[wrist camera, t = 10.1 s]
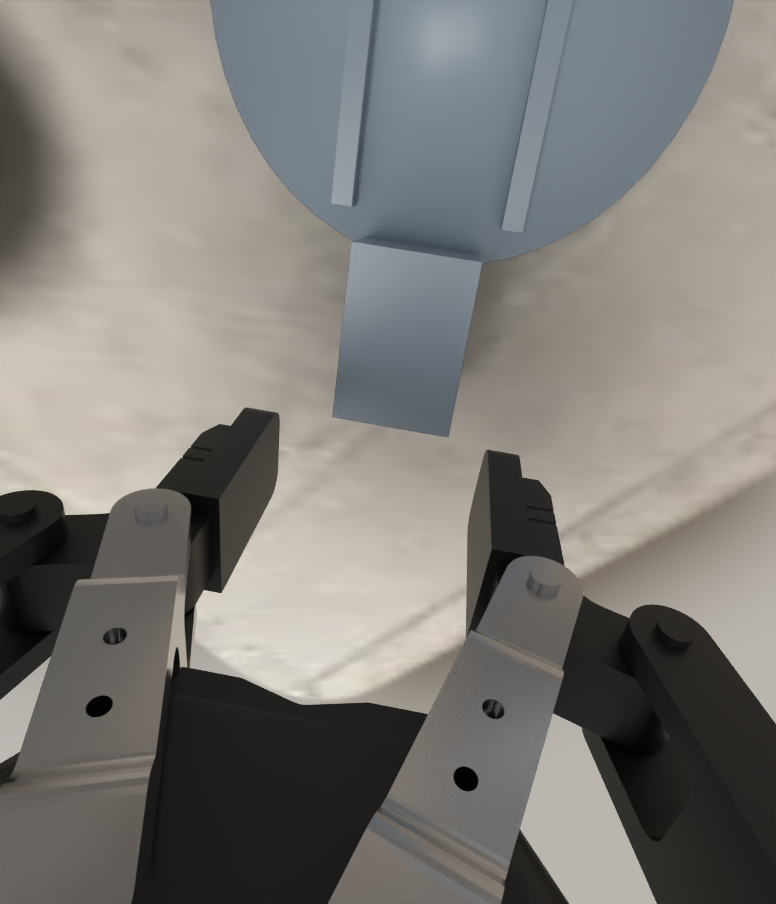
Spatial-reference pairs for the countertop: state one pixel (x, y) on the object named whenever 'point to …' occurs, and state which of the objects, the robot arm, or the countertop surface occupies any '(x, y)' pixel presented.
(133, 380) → the countertop surface
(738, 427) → the countertop surface
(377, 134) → the lid
